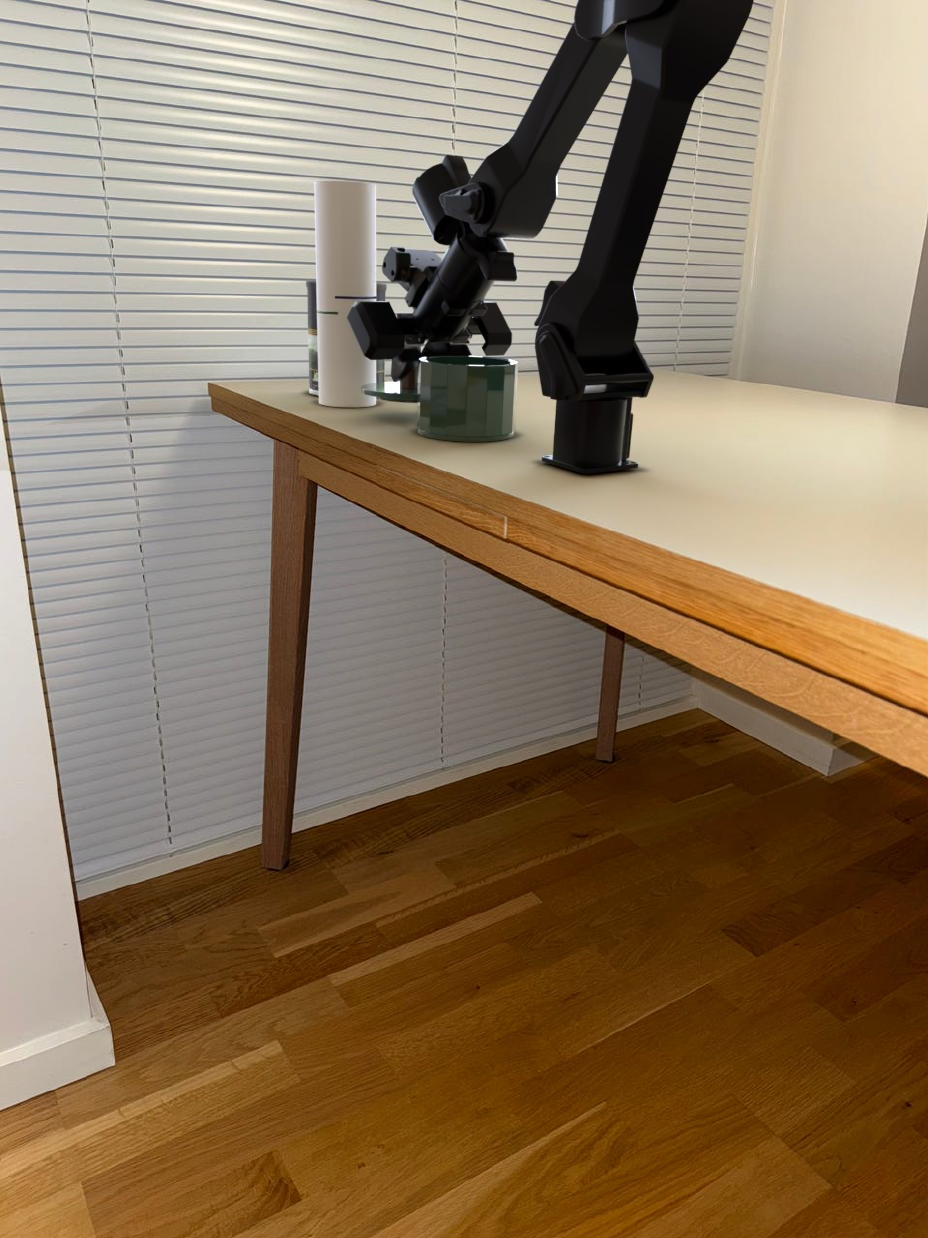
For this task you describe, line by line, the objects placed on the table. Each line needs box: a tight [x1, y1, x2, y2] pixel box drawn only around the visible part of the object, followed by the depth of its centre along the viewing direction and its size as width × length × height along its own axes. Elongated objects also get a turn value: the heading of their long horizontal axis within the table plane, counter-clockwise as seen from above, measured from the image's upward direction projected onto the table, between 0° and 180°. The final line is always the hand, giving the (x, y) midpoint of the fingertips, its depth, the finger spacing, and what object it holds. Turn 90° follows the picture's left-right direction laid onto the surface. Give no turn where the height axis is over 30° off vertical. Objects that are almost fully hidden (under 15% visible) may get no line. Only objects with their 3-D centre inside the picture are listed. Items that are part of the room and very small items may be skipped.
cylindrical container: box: [313, 180, 377, 408], centre depth 112 cm, size 7×7×25 cm
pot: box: [416, 355, 519, 443], centre depth 98 cm, size 10×10×8 cm
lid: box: [361, 347, 422, 404], centre depth 106 cm, size 11×11×6 cm
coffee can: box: [305, 279, 388, 397], centre depth 122 cm, size 10×10×14 cm
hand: (403, 378), depth 108 cm, fingers closed on lid, 2 cm apart
